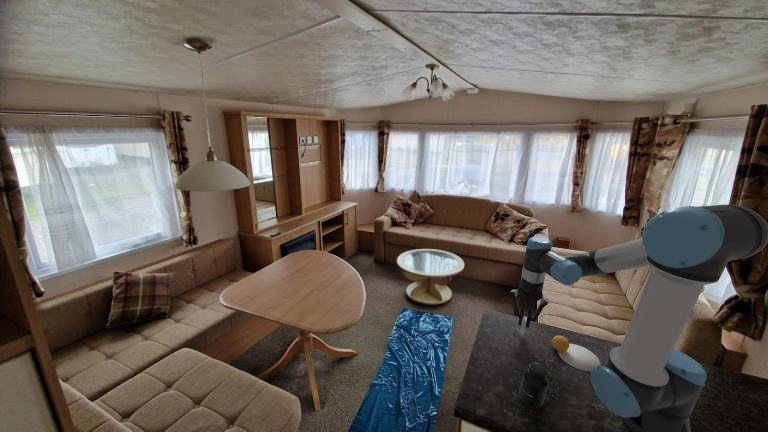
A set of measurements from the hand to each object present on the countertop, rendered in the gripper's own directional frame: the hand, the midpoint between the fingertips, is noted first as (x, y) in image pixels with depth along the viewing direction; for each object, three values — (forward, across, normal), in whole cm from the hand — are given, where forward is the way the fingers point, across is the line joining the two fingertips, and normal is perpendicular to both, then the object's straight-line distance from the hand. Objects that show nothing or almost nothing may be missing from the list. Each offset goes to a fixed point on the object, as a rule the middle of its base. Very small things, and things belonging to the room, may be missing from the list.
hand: (522, 332), depth 119 cm
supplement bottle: (+2, -7, +28) cm, 29 cm away
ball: (-1, -13, 0) cm, 13 cm away
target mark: (+2, -19, 0) cm, 19 cm away
